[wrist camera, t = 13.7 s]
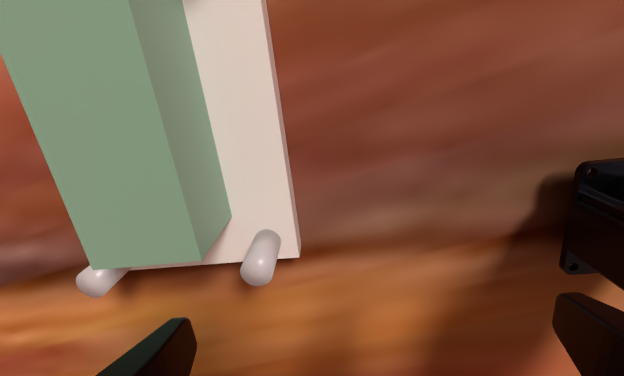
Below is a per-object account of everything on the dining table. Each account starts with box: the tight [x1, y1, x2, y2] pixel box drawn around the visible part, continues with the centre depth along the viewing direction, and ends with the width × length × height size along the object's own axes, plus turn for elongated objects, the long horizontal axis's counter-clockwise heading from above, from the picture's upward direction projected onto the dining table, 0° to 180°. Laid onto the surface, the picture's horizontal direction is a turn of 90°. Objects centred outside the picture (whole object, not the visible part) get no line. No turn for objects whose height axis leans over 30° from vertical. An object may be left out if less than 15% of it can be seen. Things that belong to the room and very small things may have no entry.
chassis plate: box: [76, 0, 301, 298], centre depth 15 cm, size 12×18×4 cm, turn 7°
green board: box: [0, 0, 232, 270], centre depth 14 cm, size 5×12×4 cm, turn 7°
